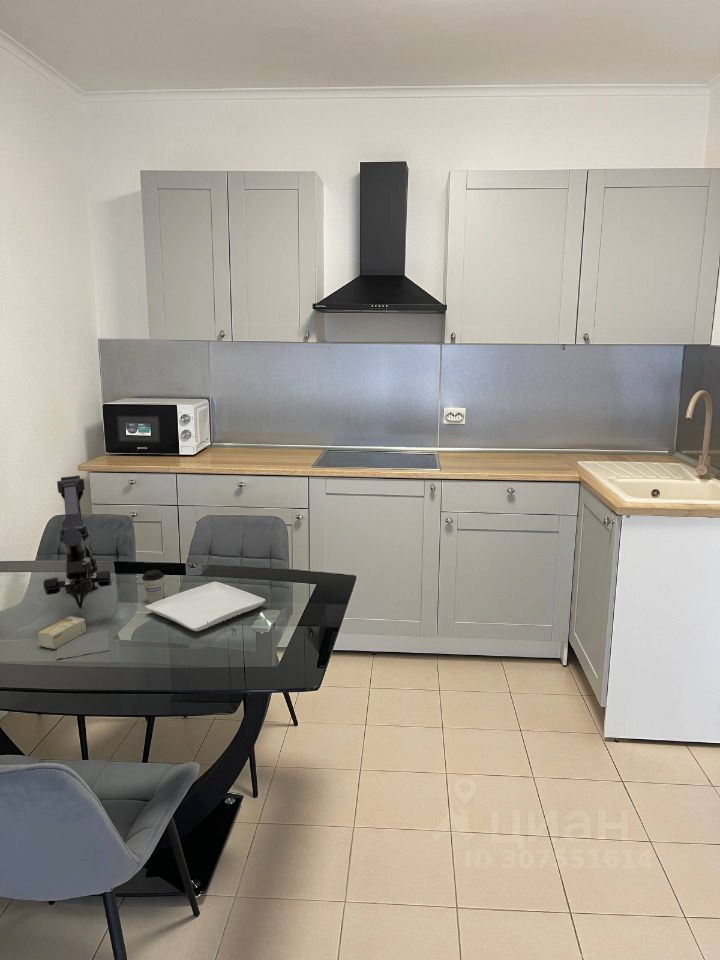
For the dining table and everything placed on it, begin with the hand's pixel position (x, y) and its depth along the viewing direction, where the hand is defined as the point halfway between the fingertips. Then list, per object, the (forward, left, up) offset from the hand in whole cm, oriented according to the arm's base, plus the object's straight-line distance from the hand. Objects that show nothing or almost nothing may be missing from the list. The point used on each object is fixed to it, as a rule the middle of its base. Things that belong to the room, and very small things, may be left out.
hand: (80, 608), depth 217 cm
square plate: (-29, +22, -8) cm, 37 cm away
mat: (+6, +8, -7) cm, 12 cm away
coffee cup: (-27, +1, -8) cm, 28 cm away
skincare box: (0, -2, -5) cm, 5 cm away
